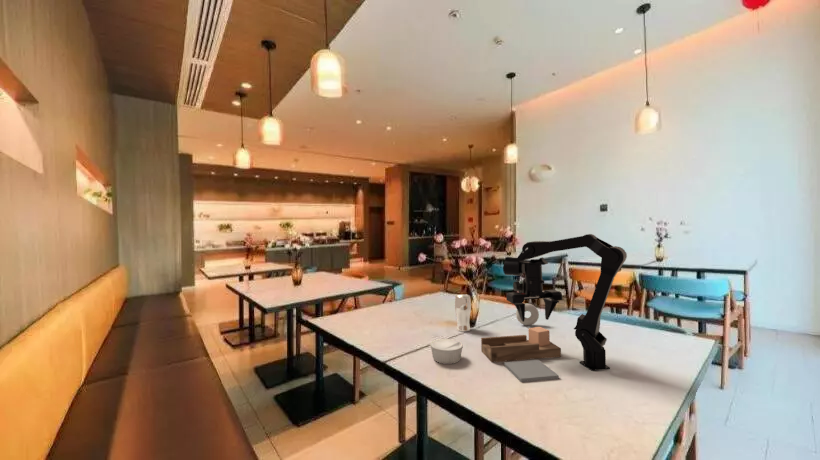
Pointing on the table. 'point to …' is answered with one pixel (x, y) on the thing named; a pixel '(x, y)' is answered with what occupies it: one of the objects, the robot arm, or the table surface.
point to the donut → (532, 318)
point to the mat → (530, 370)
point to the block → (539, 336)
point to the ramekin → (446, 350)
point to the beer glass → (463, 312)
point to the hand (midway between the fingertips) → (534, 320)
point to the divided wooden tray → (516, 349)
